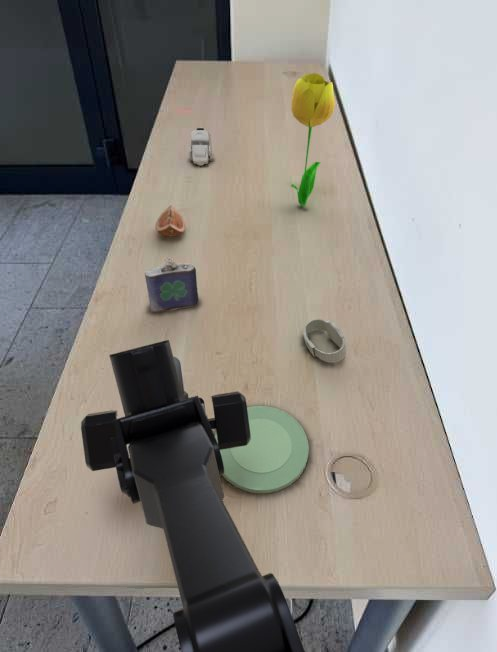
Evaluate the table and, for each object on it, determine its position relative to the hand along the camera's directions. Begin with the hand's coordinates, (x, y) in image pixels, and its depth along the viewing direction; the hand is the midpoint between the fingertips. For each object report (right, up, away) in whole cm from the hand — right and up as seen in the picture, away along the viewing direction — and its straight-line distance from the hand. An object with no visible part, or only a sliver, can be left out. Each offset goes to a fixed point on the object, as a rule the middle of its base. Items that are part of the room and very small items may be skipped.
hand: (169, 417), depth 64 cm
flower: (+24, +41, +55) cm, 73 cm away
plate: (+12, -6, +7) cm, 15 cm away
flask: (-4, +16, +29) cm, 33 cm away
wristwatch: (+24, +8, +22) cm, 33 cm away
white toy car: (-3, +58, +72) cm, 93 cm away
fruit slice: (-7, +33, +46) cm, 57 cm away
